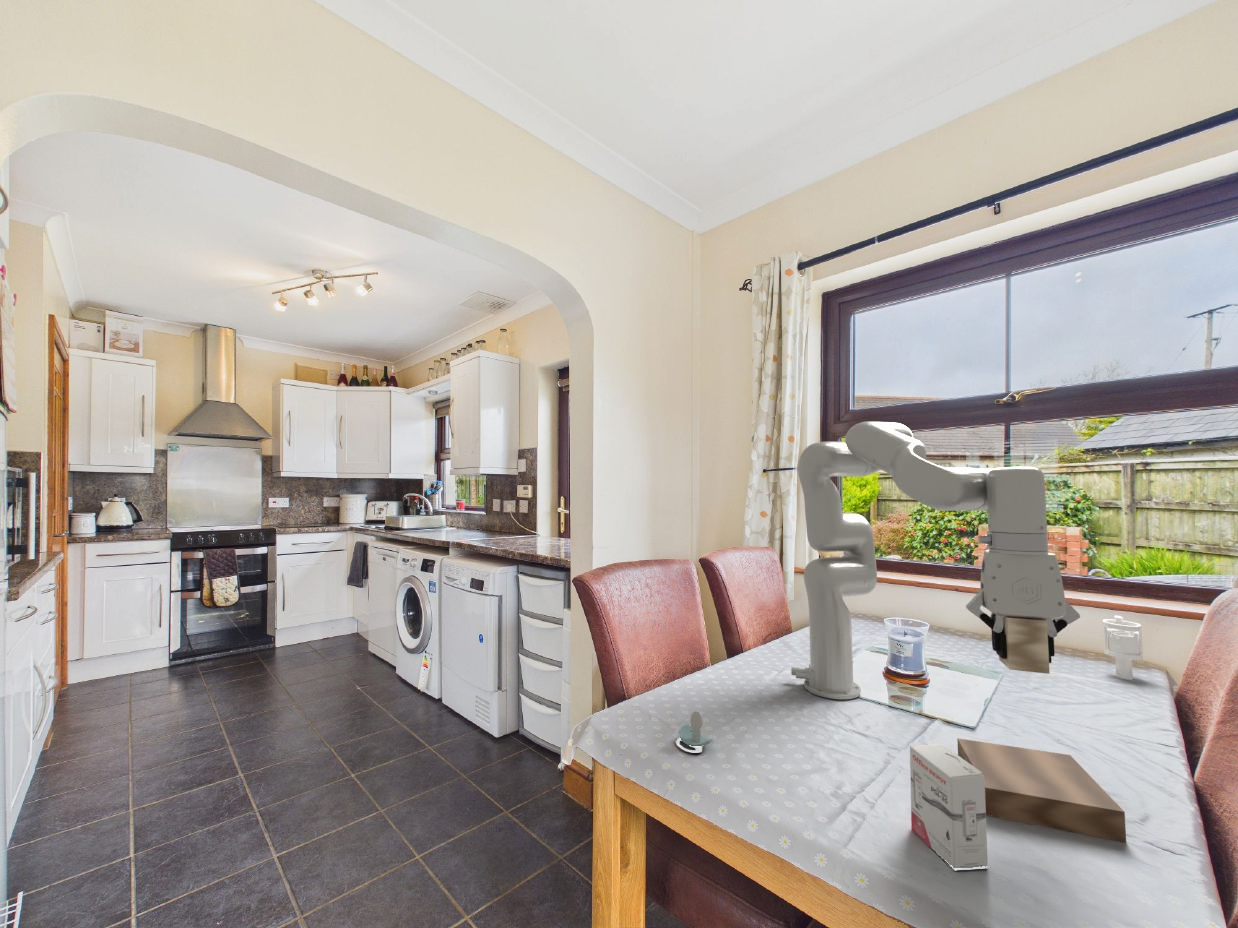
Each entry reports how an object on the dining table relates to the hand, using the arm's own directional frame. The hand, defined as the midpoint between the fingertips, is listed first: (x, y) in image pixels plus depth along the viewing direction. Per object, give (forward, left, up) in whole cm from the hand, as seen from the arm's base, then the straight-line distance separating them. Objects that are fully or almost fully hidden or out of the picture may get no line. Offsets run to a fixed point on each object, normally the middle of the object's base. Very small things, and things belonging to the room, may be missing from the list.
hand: (1022, 656), depth 81 cm
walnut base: (0, 0, -22) cm, 22 cm away
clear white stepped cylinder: (+42, +70, -22) cm, 85 cm away
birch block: (0, 0, -2) cm, 2 cm away
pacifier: (-53, -3, -22) cm, 58 cm away
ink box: (-15, -18, -22) cm, 32 cm away
